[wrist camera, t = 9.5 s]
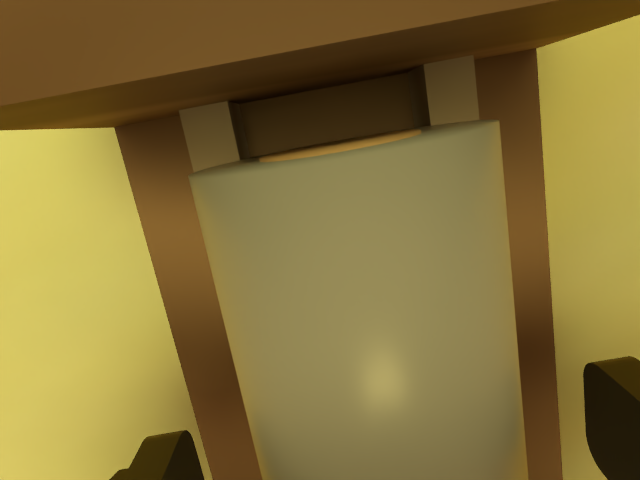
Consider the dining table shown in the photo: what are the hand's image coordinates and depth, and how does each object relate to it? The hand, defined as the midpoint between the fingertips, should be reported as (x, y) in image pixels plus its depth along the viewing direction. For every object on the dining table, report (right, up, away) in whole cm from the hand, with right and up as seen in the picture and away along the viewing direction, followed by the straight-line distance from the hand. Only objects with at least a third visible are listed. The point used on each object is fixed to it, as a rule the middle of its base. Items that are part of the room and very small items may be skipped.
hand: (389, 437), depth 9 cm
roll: (0, +1, +3) cm, 3 cm away
